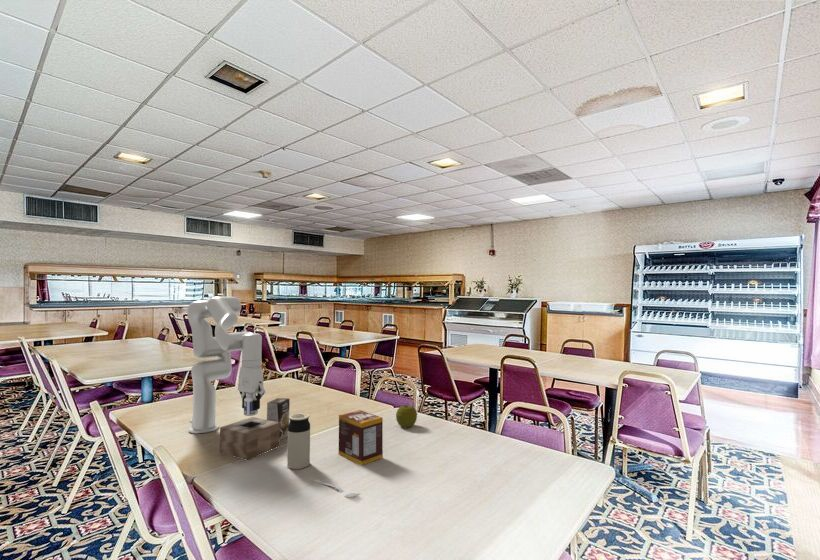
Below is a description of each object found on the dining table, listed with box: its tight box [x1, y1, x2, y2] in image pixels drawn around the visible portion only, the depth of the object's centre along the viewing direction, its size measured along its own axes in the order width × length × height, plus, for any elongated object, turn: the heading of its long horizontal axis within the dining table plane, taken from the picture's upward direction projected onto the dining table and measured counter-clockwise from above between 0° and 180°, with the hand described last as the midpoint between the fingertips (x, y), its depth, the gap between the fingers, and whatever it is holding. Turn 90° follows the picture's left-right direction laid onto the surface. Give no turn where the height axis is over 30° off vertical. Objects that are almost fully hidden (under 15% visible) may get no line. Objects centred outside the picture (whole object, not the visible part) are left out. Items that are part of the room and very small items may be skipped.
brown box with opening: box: [219, 416, 280, 461], centre depth 166 cm, size 16×16×10 cm
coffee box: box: [266, 397, 291, 442], centre depth 181 cm, size 9×6×16 cm
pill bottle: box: [243, 393, 259, 417], centre depth 166 cm, size 5×5×9 cm
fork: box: [314, 479, 361, 498], centre depth 134 cm, size 3×24×2 cm, turn 51°
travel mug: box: [286, 412, 311, 470], centre depth 151 cm, size 8×8×18 cm
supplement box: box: [338, 409, 384, 466], centre depth 160 cm, size 10×15×16 cm
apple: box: [395, 403, 418, 429], centre depth 196 cm, size 10×10×11 cm
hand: (250, 408), depth 166 cm, fingers closed on pill bottle, 5 cm apart
